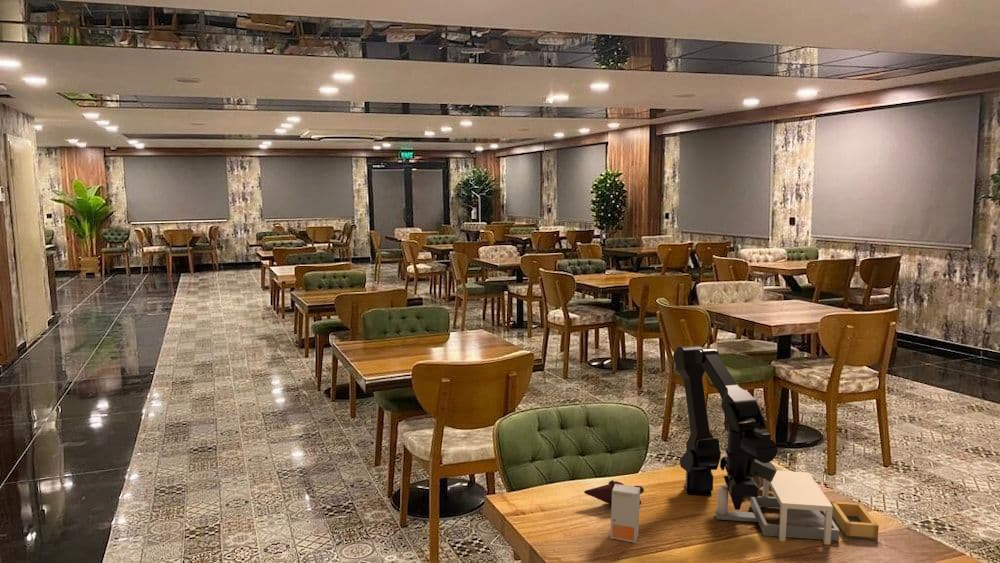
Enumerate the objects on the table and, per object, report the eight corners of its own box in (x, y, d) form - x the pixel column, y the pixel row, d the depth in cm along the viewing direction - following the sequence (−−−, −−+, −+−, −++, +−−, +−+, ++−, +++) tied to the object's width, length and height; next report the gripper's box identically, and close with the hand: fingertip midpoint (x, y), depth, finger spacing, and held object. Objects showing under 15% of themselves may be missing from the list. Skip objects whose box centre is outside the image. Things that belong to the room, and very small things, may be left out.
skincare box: (609, 539, 165) (611, 490, 163) (613, 531, 169) (614, 483, 167) (636, 543, 163) (637, 493, 161) (639, 535, 167) (640, 486, 165)
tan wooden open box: (845, 538, 166) (846, 523, 165) (830, 515, 177) (831, 501, 177) (877, 540, 165) (878, 525, 164) (860, 517, 176) (860, 503, 176)
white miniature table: (779, 540, 164) (782, 503, 163) (762, 503, 184) (763, 469, 183) (830, 544, 162) (832, 506, 161) (806, 506, 182) (808, 472, 181)
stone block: (786, 541, 168) (830, 537, 166) (782, 521, 168) (827, 517, 166) (777, 520, 180) (818, 516, 178) (773, 502, 179) (815, 498, 177)
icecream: (587, 489, 177) (647, 494, 177) (584, 471, 184) (642, 476, 184) (583, 512, 179) (643, 517, 180) (580, 493, 186) (637, 498, 187)
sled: (720, 532, 168) (722, 502, 167) (711, 502, 184) (712, 474, 183) (838, 540, 164) (840, 510, 163) (818, 509, 180) (820, 481, 179)
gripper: (783, 464, 163) (780, 529, 164) (766, 437, 181) (763, 495, 183) (733, 461, 164) (730, 525, 166) (721, 434, 183) (718, 492, 184)
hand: (737, 509), depth 175 cm, fingers closed
